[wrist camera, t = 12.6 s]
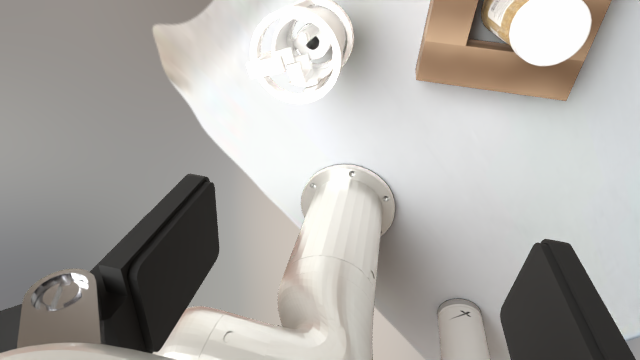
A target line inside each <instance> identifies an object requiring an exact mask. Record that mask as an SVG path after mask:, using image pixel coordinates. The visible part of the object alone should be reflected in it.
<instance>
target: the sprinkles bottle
mask: <svg viewBox="0 0 640 360" xmlns="http://www.w3.org/2000/svg"><path fill="white" fill-rule="evenodd" d="M481 19H482V22H483V24H484V26H485V27H486V28H487V29H488V30H489V31H491V32H493V33H494V34H495V35H496V36H497V37H499V38H500V39H501V40H503V41H504V42H506V43H508V44H509V45H510V46H511V47H512V49H513V50H514V52H515V53H516V54H517V55H518V56H519V57H520V58H522V59H523V60H525V61H526V62H528V63H530V64H533V65H536V66H551V65H556V64H559V63H561V62H563V61H565V60H567V59H569V58H570V57H572V56H573V55H574V54H575V53H576V52H577V51H579V49H580V48H581V47H582V46H583V44H584V43H585V41H586V40H587V38H588V36H589V33H590V30H591V23H592V19H591V13H590V10H589V8H588V6H587V5H586V4H585V3H584V1H582V0H484V2H483V5H482V8H481Z"/></svg>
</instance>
